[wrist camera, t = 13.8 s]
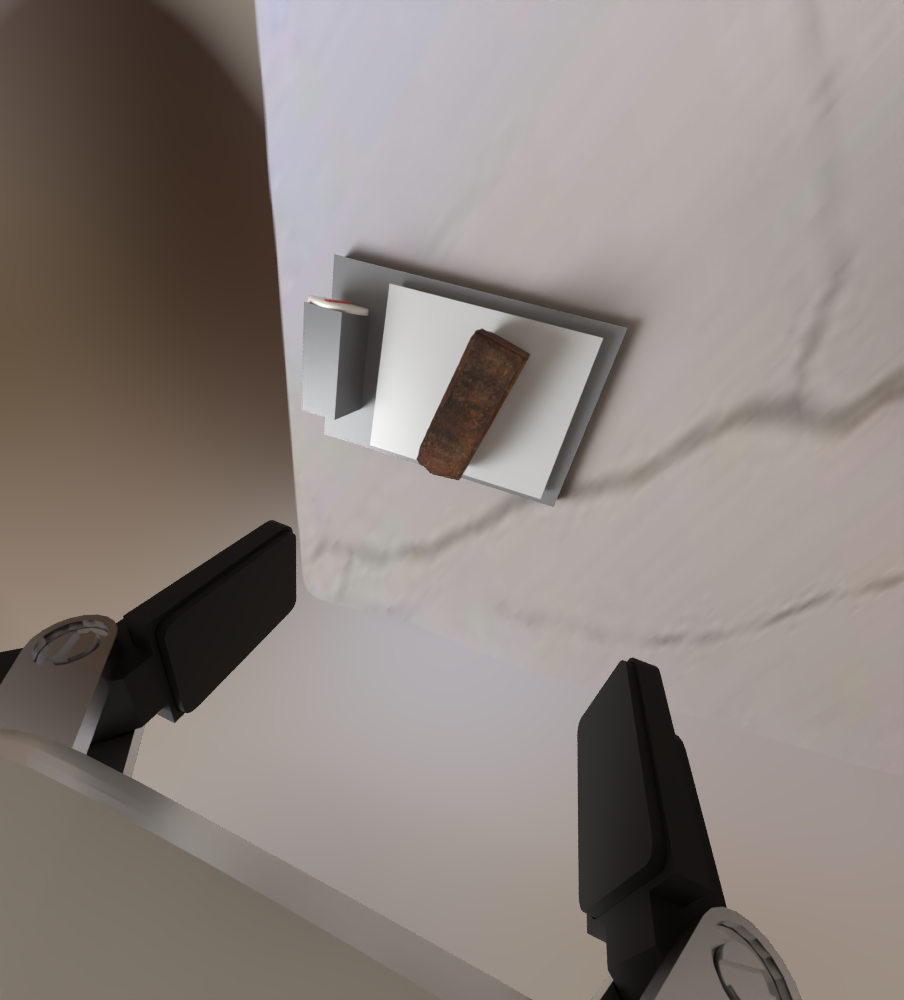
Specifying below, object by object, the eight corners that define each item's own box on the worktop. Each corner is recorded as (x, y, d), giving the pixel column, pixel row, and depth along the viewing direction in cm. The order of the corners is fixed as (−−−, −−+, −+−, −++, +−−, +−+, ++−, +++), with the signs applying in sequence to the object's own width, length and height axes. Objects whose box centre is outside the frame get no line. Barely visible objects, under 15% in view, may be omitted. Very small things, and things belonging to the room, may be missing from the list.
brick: (485, 327, 27) (472, 327, 23) (532, 354, 27) (527, 359, 22) (427, 447, 32) (408, 464, 28) (466, 469, 32) (453, 491, 28)
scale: (624, 327, 27) (640, 328, 22) (553, 499, 34) (553, 531, 29) (341, 257, 30) (296, 242, 25) (330, 429, 37) (293, 446, 32)
